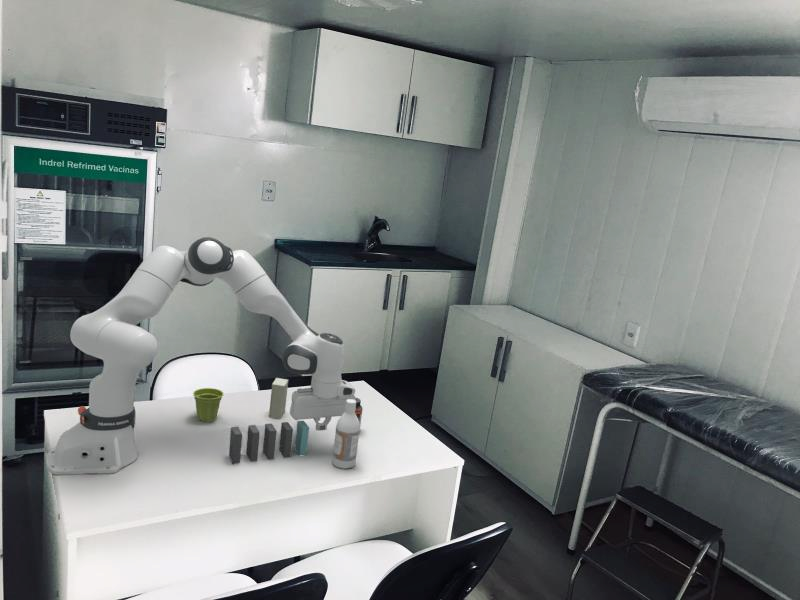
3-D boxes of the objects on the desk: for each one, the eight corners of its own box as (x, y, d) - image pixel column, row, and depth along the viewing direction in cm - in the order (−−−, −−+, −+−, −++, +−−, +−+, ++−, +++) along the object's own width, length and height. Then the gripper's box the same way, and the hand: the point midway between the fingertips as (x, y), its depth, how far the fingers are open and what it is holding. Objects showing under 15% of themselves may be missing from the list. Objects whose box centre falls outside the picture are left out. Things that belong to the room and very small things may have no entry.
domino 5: (300, 447, 193) (303, 420, 191) (306, 455, 189) (309, 427, 187) (294, 448, 192) (297, 421, 190) (299, 455, 188) (302, 428, 186)
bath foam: (327, 460, 188) (334, 397, 183) (347, 456, 192) (354, 395, 187) (339, 471, 182) (347, 407, 178) (359, 466, 187) (367, 403, 182)
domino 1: (232, 463, 178) (235, 434, 176) (228, 455, 183) (231, 427, 181) (239, 462, 179) (242, 433, 177) (235, 454, 184) (238, 426, 182)
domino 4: (283, 457, 186) (286, 429, 184) (278, 450, 190) (281, 422, 188) (290, 457, 187) (293, 429, 185) (285, 449, 191) (287, 421, 189)
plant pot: (188, 414, 206) (189, 389, 204) (216, 410, 211) (218, 386, 209) (196, 425, 198) (197, 400, 196) (225, 422, 204) (227, 397, 202)
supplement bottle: (341, 434, 206) (345, 401, 204) (342, 426, 212) (346, 395, 210) (359, 436, 207) (363, 403, 204) (359, 428, 212) (363, 397, 210)
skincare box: (272, 410, 217) (275, 377, 215) (285, 412, 217) (288, 379, 214) (268, 417, 211) (271, 383, 208) (281, 419, 211) (284, 385, 208)
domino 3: (267, 459, 183) (270, 431, 181) (262, 451, 188) (265, 424, 186) (274, 458, 184) (276, 430, 182) (269, 451, 188) (271, 423, 187)
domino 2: (250, 461, 181) (252, 432, 179) (245, 453, 185) (248, 425, 183) (257, 460, 182) (259, 432, 180) (252, 452, 186) (255, 424, 184)
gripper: (296, 393, 181) (291, 437, 184) (360, 389, 191) (355, 431, 194) (289, 385, 187) (284, 428, 190) (352, 381, 197) (347, 422, 200)
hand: (320, 429), depth 192 cm, fingers closed
